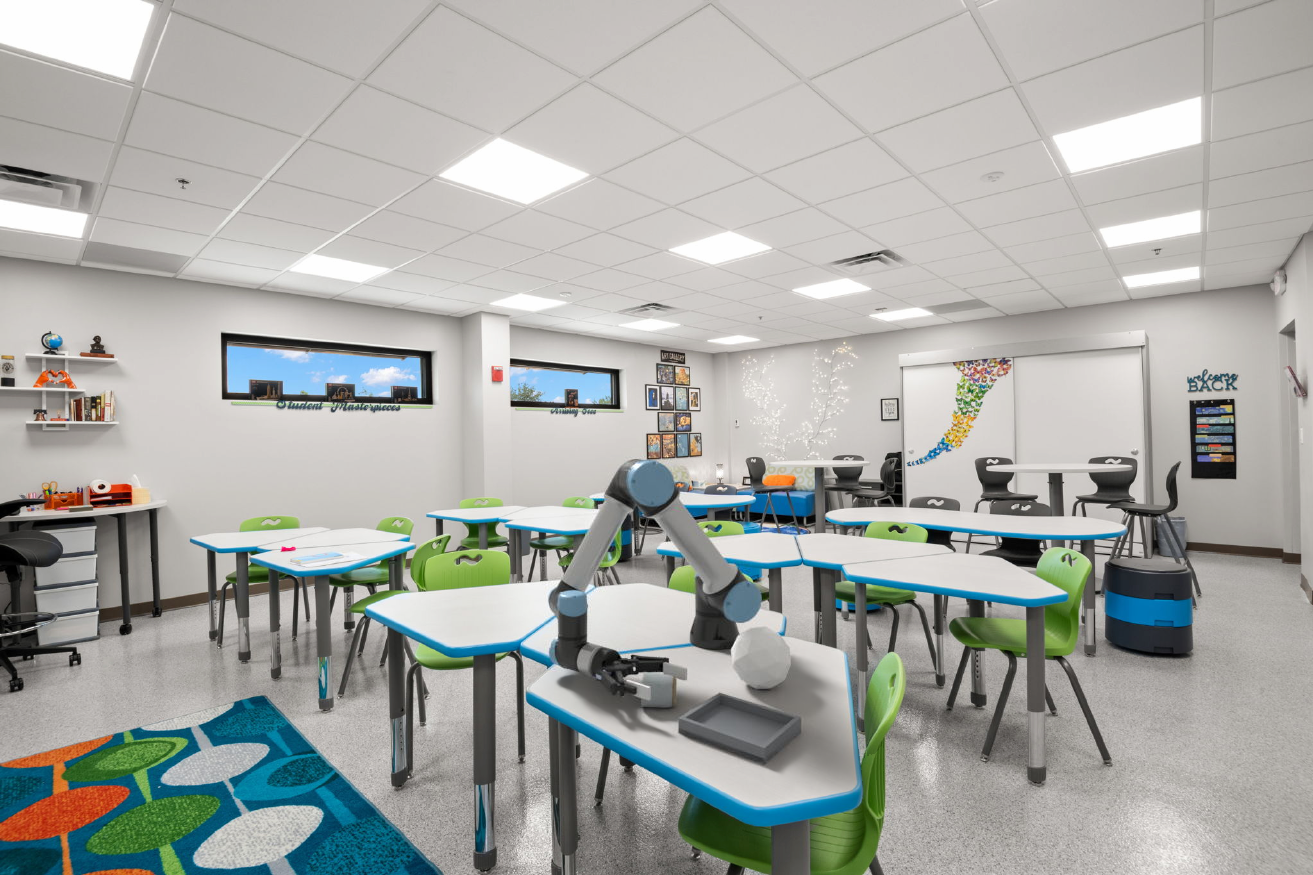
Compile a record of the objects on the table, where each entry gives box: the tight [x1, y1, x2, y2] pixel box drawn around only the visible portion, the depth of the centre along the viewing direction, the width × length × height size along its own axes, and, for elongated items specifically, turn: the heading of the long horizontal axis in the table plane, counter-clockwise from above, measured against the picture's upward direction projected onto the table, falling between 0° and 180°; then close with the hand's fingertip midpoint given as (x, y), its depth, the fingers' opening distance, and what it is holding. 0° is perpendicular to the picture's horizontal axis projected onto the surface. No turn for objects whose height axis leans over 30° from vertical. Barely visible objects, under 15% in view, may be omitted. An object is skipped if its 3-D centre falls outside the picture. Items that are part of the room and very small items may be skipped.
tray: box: [677, 692, 802, 765], centre depth 125 cm, size 16×20×3 cm
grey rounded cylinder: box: [640, 672, 678, 709], centre depth 140 cm, size 10×8×7 cm
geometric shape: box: [730, 626, 792, 690], centre depth 149 cm, size 14×15×15 cm
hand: (668, 683), depth 136 cm, fingers open, 13 cm apart
